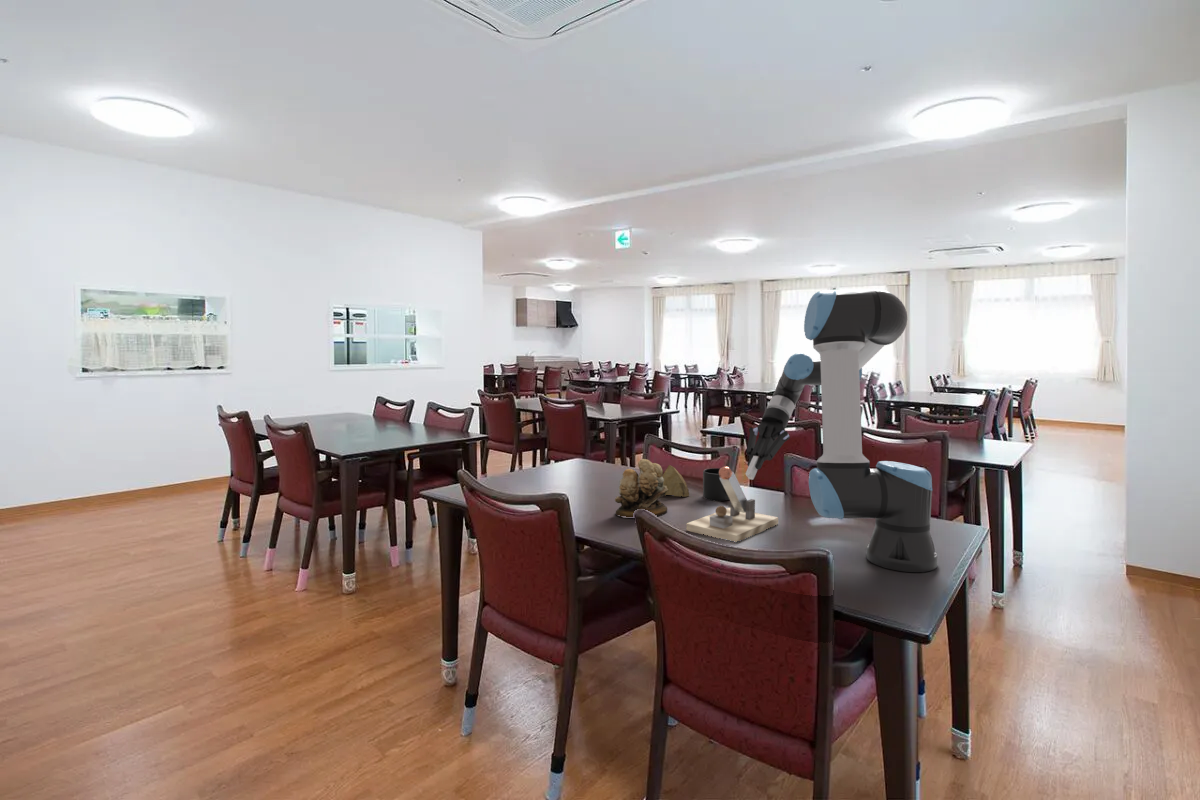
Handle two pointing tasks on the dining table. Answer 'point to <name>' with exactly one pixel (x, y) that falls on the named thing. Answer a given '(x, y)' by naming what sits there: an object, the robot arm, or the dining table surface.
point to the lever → (733, 489)
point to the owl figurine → (642, 490)
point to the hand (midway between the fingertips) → (749, 476)
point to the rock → (675, 483)
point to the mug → (713, 485)
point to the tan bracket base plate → (733, 523)
